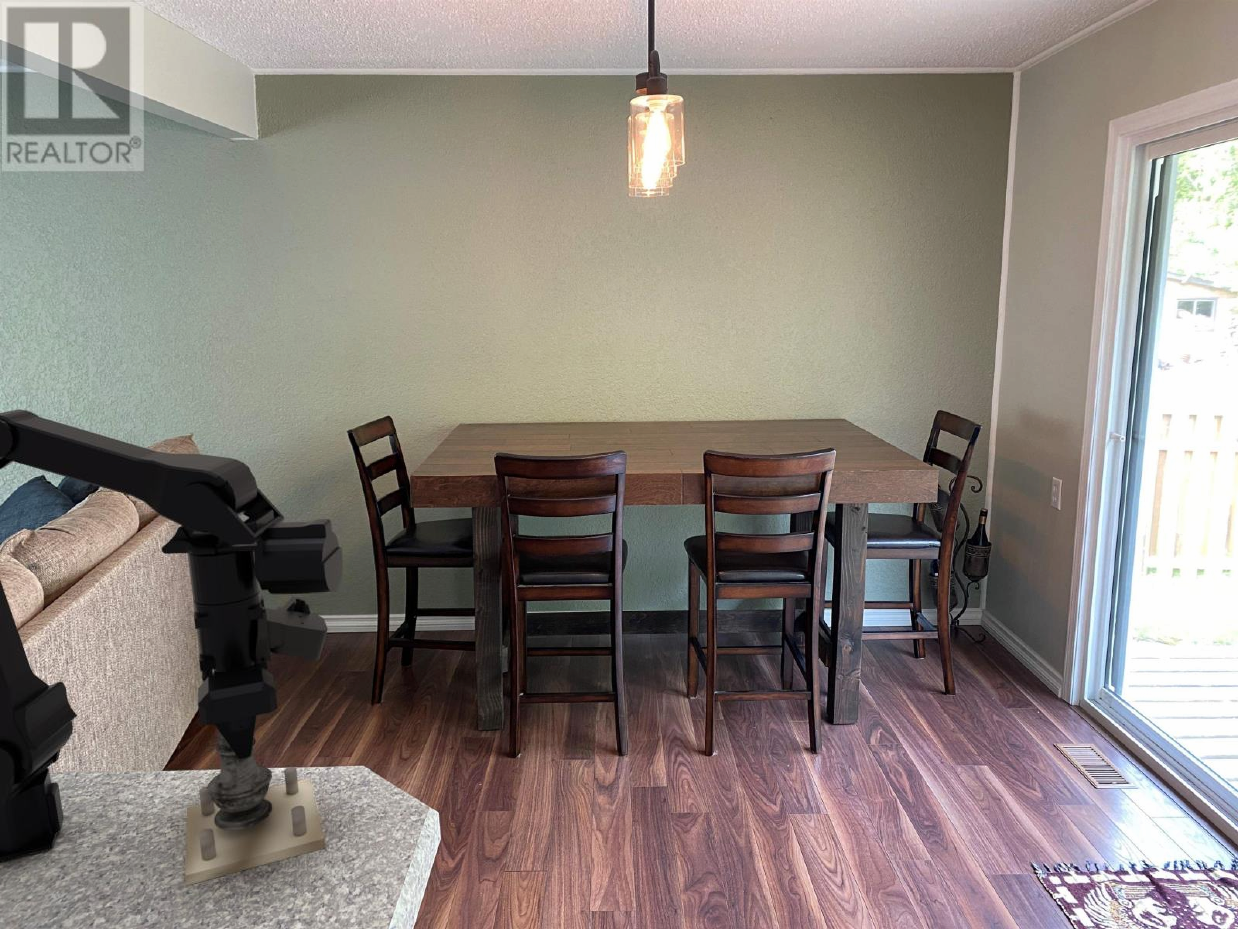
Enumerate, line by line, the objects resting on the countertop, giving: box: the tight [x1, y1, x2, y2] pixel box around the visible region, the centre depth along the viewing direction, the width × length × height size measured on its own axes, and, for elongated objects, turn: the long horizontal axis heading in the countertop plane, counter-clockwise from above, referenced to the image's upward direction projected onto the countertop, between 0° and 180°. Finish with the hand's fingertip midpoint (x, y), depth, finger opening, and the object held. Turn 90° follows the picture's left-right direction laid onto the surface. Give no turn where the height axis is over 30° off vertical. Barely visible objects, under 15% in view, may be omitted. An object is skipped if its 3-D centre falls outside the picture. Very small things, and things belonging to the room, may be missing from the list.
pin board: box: [184, 766, 326, 886], centre depth 86 cm, size 12×12×4 cm
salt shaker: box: [206, 728, 273, 830], centre depth 85 cm, size 6×6×12 cm
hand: (244, 748), depth 85 cm, fingers closed on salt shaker, 3 cm apart
